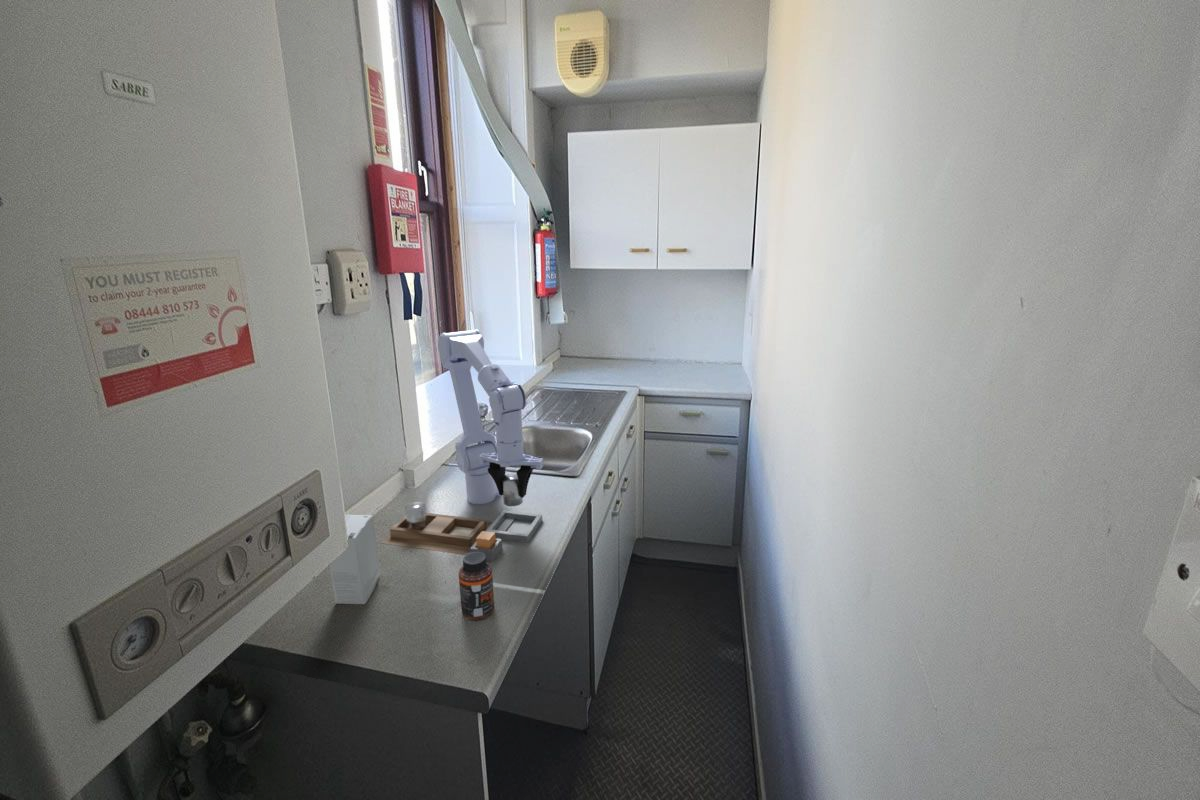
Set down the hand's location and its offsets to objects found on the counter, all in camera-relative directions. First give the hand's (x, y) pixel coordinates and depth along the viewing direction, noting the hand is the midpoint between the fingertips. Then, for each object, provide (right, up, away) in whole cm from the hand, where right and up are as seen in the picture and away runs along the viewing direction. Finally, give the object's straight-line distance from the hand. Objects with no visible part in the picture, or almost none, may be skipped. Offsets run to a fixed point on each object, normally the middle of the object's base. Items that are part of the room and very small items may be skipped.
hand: (512, 494), depth 125 cm
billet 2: (0, -2, +1) cm, 2 cm away
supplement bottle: (-3, -18, -24) cm, 30 cm away
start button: (-4, -10, -8) cm, 13 cm away
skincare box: (-27, -16, -18) cm, 36 cm away
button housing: (-4, -12, -7) cm, 15 cm away
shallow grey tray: (0, -9, +3) cm, 9 cm away
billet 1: (-22, -8, +2) cm, 24 cm away
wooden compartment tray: (-17, -10, +1) cm, 20 cm away
